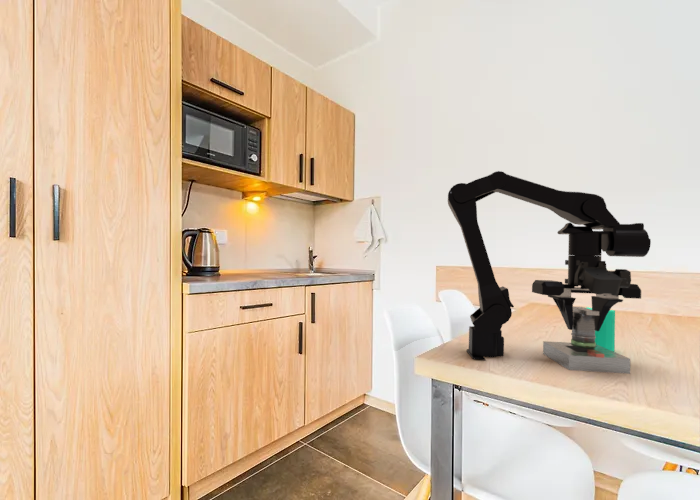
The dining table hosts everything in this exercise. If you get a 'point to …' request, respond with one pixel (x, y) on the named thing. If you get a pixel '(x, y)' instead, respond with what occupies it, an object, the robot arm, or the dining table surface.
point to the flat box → (586, 358)
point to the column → (583, 328)
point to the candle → (607, 332)
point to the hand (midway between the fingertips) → (583, 330)
